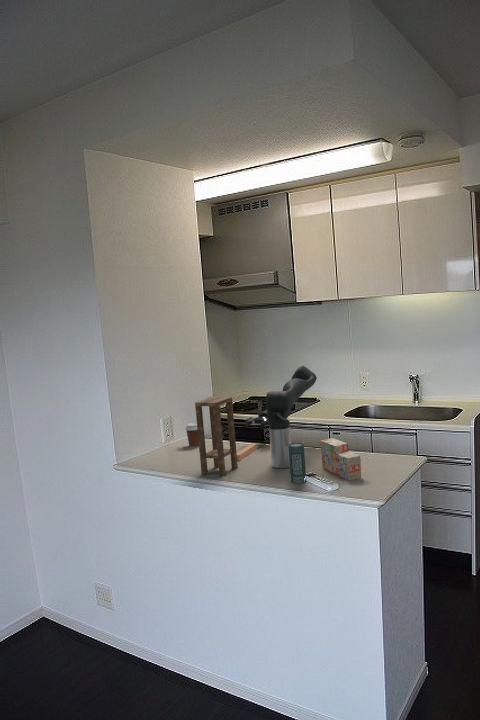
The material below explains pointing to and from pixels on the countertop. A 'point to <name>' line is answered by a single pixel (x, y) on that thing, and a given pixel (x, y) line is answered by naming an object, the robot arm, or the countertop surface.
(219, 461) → the stool
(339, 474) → the stack of blocks
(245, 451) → the bar
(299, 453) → the can
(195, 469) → the countertop surface
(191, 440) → the coffee cup
